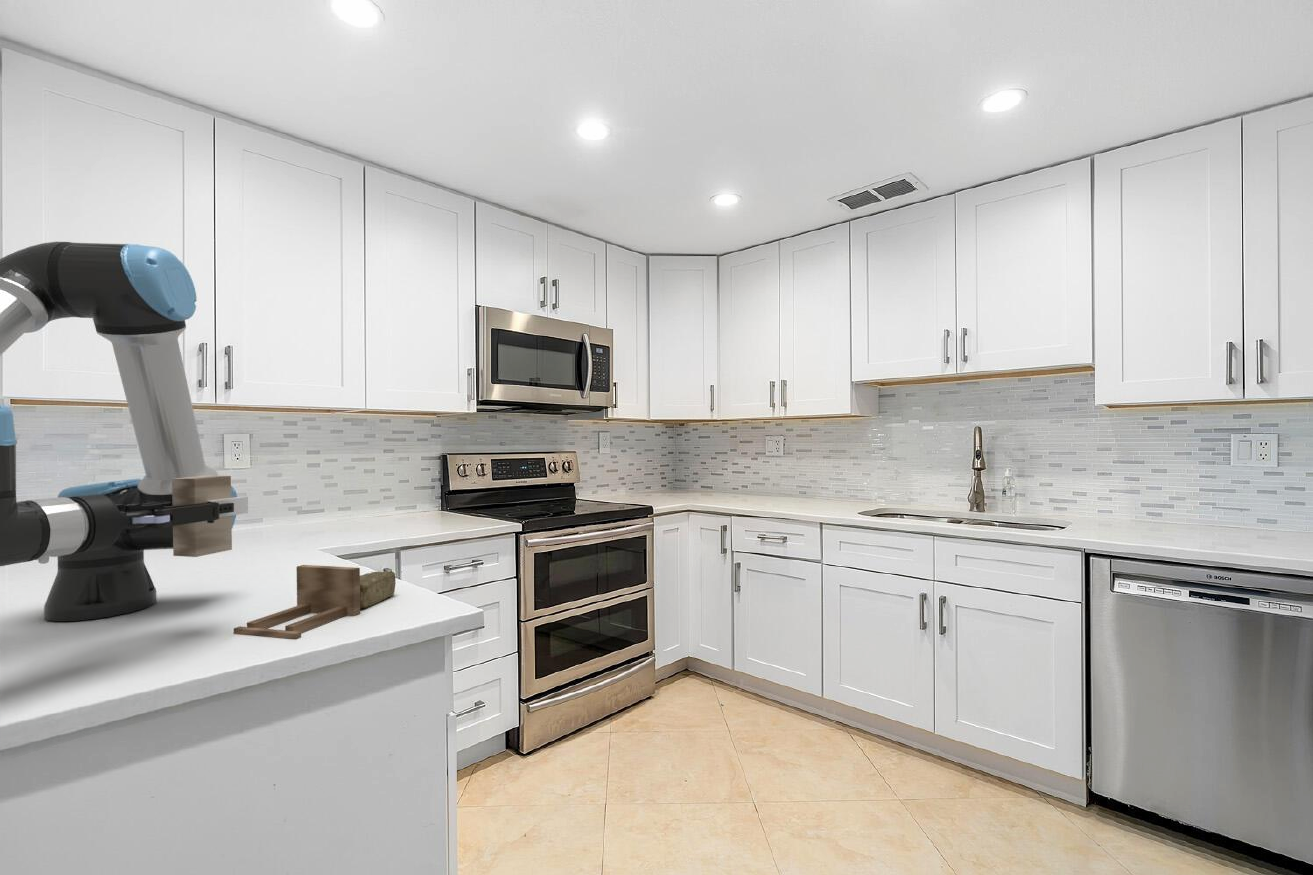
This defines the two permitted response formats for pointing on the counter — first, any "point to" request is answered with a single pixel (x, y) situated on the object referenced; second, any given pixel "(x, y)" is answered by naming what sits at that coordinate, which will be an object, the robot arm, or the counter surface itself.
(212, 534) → the light wooden block
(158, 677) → the counter surface
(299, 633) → the wooden book stand
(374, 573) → the stone block
